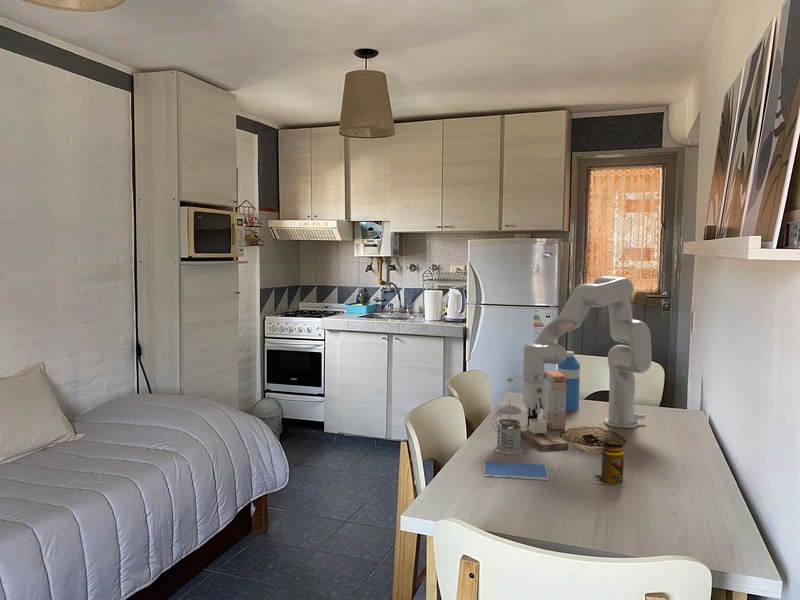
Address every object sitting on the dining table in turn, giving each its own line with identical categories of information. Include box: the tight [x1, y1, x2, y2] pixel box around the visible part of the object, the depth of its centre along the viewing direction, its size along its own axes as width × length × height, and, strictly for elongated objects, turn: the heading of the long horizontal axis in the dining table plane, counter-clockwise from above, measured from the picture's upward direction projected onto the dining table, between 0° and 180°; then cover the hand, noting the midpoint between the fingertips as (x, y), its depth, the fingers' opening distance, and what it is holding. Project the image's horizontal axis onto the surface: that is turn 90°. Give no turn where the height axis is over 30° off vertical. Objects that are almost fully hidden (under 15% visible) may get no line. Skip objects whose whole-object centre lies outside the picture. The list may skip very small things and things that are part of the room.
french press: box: [492, 377, 524, 455], centre depth 204 cm, size 10×12×25 cm
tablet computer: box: [483, 461, 550, 481], centre depth 183 cm, size 19×13×1 cm, turn 81°
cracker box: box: [542, 369, 567, 431], centre depth 234 cm, size 14×6×21 cm, turn 179°
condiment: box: [593, 439, 626, 488], centre depth 175 cm, size 7×8×12 cm
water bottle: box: [557, 350, 581, 412], centre depth 261 cm, size 9×9×25 cm
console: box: [512, 424, 569, 451], centre depth 216 cm, size 10×24×2 cm, turn 13°
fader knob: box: [529, 417, 548, 434], centre depth 217 cm, size 5×4×4 cm
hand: (532, 425), depth 222 cm, fingers closed
